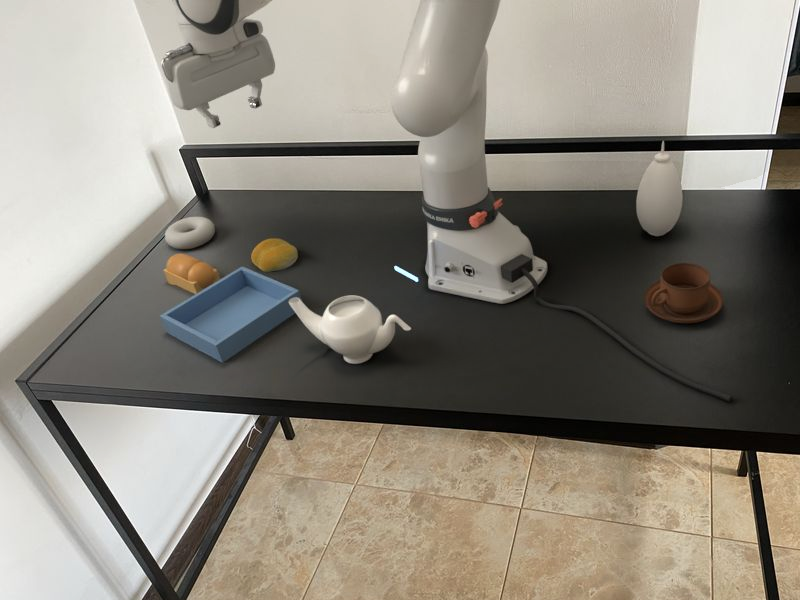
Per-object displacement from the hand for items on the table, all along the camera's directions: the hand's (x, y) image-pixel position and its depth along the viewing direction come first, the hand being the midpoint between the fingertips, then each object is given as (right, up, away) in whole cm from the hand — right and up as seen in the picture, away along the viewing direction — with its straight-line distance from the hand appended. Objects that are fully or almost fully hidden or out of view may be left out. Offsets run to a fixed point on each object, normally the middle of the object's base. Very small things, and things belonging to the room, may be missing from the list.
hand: (236, 116), depth 133 cm
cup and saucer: (+75, -35, -13) cm, 84 cm away
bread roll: (+4, -25, +11) cm, 27 cm away
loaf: (-10, -29, +8) cm, 32 cm away
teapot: (+24, -42, -14) cm, 51 cm away
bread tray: (+1, -37, -4) cm, 37 cm away
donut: (-16, -19, +22) cm, 33 cm away
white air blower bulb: (+76, -20, +5) cm, 79 cm away
